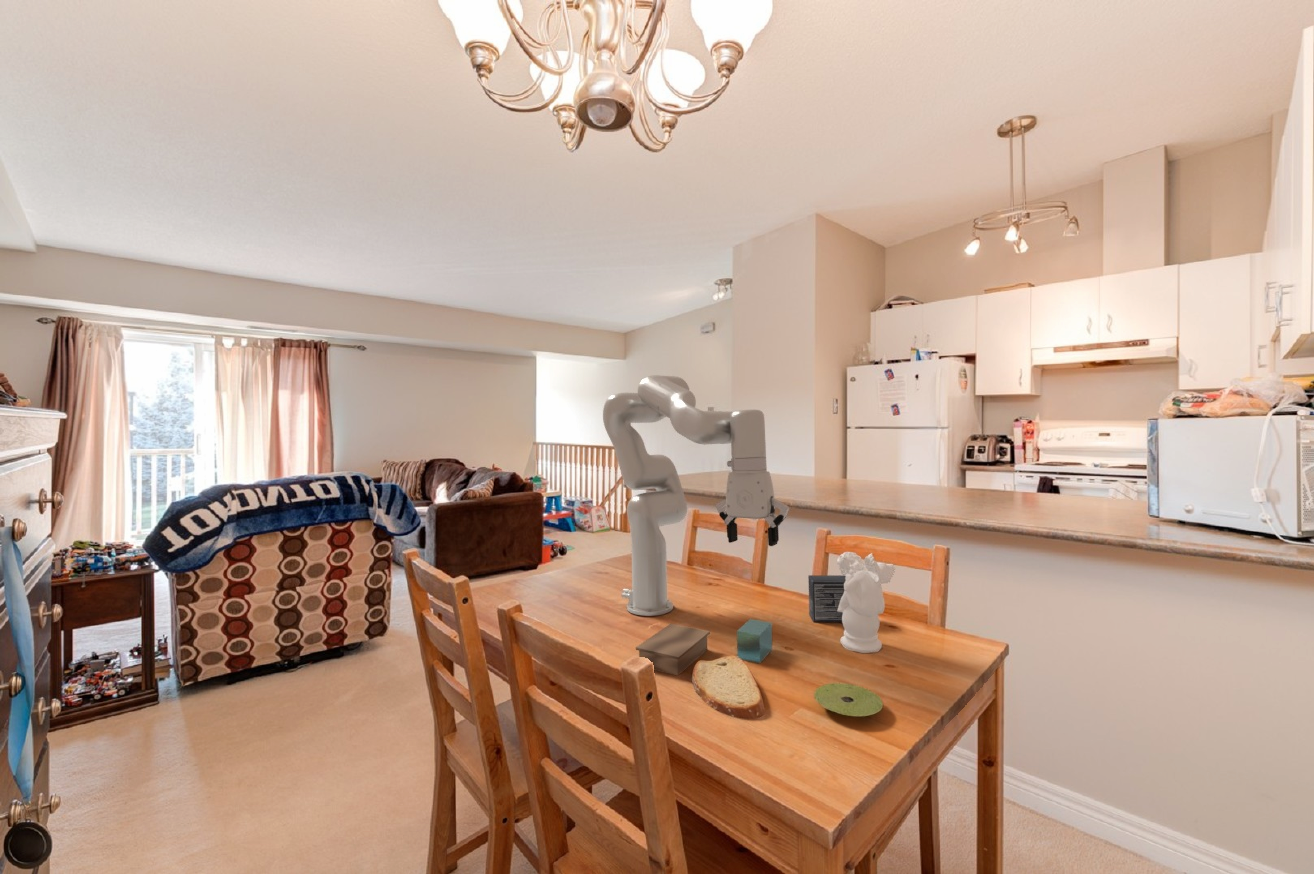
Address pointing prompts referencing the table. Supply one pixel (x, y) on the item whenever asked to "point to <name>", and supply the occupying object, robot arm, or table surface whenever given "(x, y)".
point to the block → (754, 640)
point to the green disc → (848, 699)
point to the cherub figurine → (862, 601)
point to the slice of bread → (728, 687)
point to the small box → (825, 597)
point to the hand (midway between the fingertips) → (752, 543)
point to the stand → (674, 648)
